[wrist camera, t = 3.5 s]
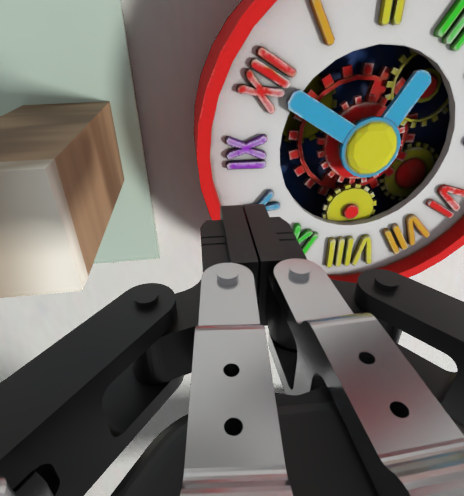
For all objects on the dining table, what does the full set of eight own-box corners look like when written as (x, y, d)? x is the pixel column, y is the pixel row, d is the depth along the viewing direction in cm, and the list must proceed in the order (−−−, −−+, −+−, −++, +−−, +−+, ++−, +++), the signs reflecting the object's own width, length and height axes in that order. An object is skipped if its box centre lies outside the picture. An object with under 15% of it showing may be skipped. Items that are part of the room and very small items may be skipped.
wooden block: (109, 101, 22) (45, 168, 12) (124, 179, 24) (82, 290, 14) (23, 104, 21) (-123, 178, 11) (47, 184, 24) (-52, 302, 14)
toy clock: (385, 327, 28) (135, 224, 21) (354, 281, 33) (145, 185, 26) (634, 76, 19) (359, -235, 12) (542, 65, 24) (309, -161, 17)
